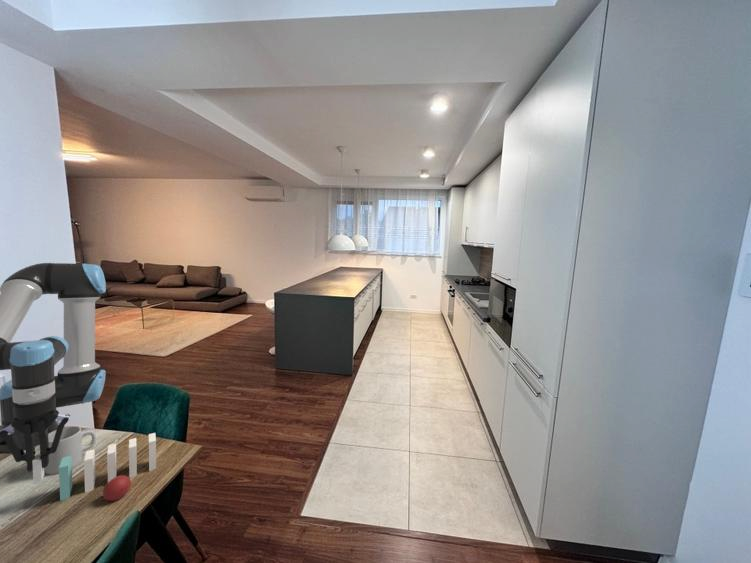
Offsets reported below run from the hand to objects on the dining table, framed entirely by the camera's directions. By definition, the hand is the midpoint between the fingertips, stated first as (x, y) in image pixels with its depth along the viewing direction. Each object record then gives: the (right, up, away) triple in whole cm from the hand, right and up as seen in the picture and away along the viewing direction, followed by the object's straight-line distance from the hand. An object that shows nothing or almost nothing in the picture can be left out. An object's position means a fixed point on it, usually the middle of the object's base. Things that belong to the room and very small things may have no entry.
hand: (38, 479), depth 81 cm
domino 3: (+11, -7, +10) cm, 17 cm away
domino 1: (+4, -7, +4) cm, 9 cm away
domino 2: (+7, -7, +7) cm, 12 cm away
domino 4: (+15, -7, +13) cm, 21 cm away
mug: (-7, -5, +16) cm, 18 cm away
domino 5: (+19, -7, +17) cm, 26 cm away
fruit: (+19, -8, +4) cm, 21 cm away
